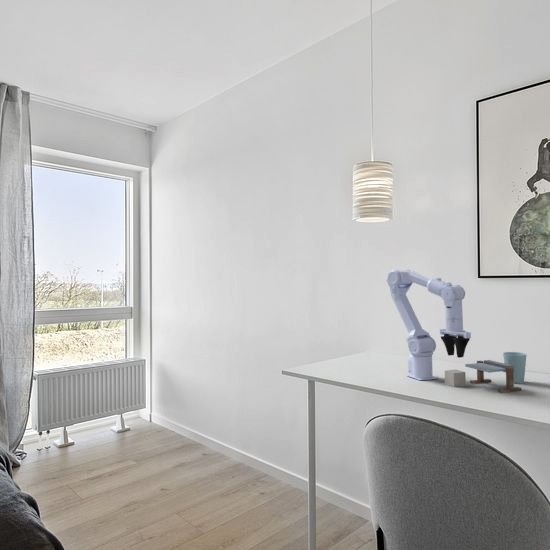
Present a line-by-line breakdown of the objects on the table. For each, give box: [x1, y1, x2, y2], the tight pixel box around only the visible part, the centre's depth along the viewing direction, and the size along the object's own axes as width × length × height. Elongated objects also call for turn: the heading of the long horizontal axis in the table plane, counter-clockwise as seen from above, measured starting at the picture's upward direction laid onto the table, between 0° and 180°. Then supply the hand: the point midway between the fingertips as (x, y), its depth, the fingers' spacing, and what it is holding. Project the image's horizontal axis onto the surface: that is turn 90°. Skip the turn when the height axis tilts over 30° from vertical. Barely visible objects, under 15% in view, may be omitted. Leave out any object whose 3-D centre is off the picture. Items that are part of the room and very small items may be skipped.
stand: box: [469, 360, 523, 393], centre depth 161 cm, size 16×8×8 cm, turn 16°
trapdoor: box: [464, 359, 514, 373], centre depth 161 cm, size 12×10×2 cm
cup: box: [502, 351, 527, 384], centre depth 167 cm, size 8×8×10 cm
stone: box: [444, 369, 467, 388], centre depth 165 cm, size 5×5×5 cm
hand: (455, 356), depth 164 cm, fingers open, 5 cm apart
